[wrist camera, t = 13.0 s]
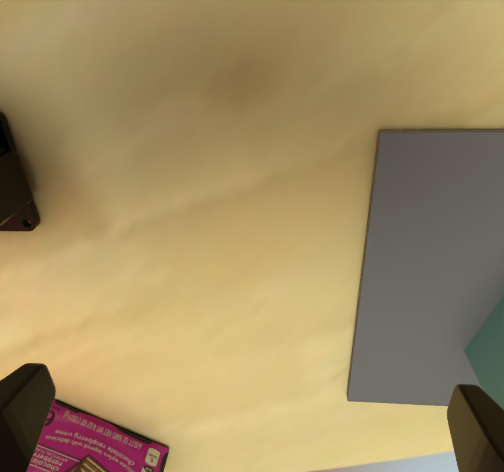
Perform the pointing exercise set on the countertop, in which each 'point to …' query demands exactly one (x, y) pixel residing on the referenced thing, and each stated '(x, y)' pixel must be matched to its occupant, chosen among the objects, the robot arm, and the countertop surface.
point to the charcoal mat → (428, 263)
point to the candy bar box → (92, 446)
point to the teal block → (490, 354)
